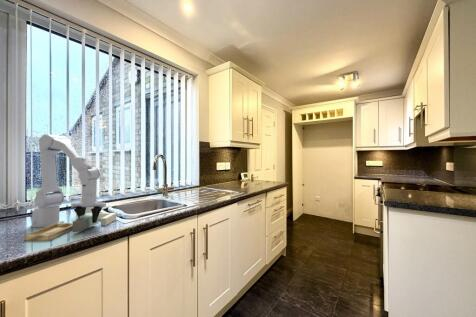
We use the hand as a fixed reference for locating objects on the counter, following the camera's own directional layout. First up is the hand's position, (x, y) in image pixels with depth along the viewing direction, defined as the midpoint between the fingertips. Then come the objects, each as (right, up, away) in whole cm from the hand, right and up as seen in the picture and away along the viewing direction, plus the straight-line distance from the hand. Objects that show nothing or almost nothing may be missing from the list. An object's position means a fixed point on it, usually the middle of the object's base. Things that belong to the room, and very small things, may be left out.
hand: (88, 222), depth 97 cm
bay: (-1, -3, +9) cm, 9 cm away
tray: (-10, -3, -7) cm, 12 cm away
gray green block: (0, -2, -2) cm, 3 cm away
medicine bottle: (-14, -3, +17) cm, 23 cm away
